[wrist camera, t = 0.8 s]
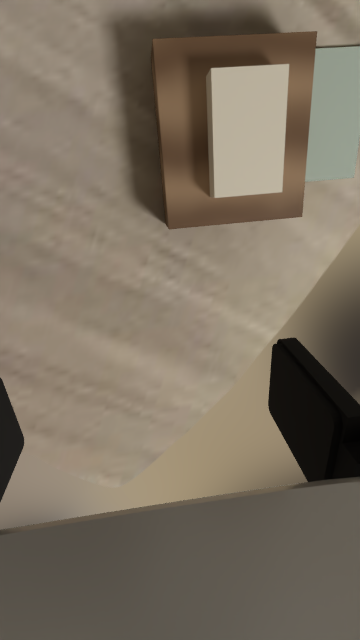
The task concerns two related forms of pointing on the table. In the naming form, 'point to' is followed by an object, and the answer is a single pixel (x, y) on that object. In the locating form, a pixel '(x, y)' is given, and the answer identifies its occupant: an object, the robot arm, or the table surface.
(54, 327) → the table surface
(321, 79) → the mat
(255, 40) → the flat brown wooden block
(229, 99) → the cream rectangular block
